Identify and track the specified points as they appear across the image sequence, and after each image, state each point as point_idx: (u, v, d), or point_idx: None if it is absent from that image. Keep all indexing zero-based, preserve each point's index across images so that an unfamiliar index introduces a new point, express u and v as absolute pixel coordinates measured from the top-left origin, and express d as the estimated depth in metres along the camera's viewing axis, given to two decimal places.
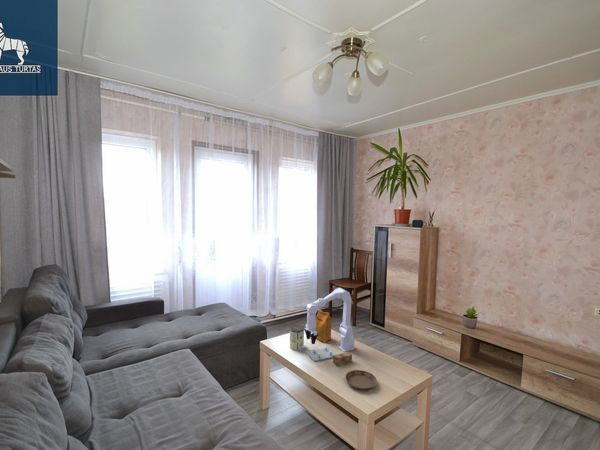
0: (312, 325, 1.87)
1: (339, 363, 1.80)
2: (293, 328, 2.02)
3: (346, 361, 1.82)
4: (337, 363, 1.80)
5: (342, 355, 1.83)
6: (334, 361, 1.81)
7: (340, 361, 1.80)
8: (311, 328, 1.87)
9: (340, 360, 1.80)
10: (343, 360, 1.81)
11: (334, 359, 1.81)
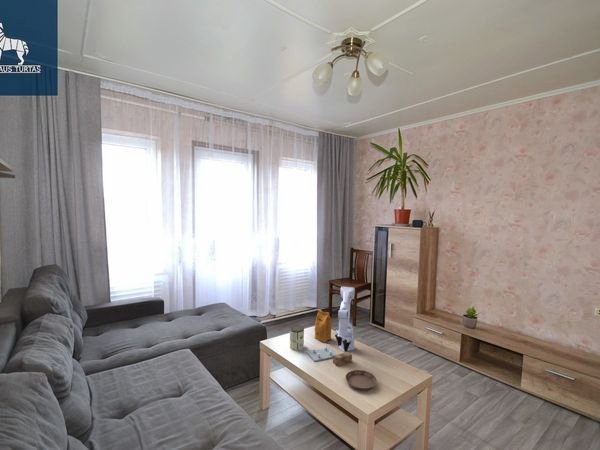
0: (344, 331, 1.80)
1: (339, 363, 1.80)
2: (293, 328, 2.02)
3: (346, 361, 1.82)
4: (337, 363, 1.80)
5: (342, 355, 1.83)
6: (334, 361, 1.81)
7: (340, 361, 1.80)
8: (343, 334, 1.80)
9: (340, 360, 1.80)
10: (343, 360, 1.81)
11: (334, 359, 1.81)
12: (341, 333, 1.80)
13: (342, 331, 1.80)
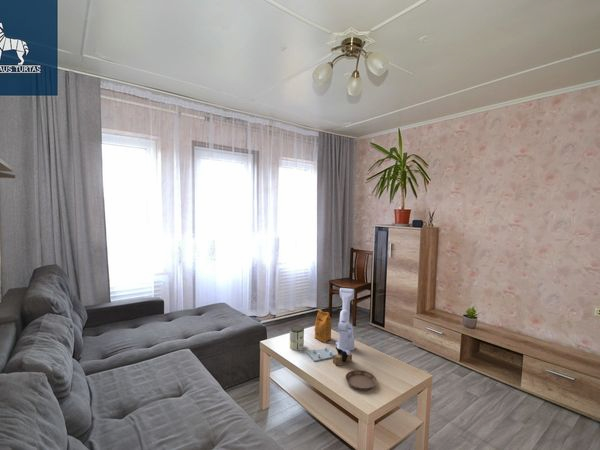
0: (344, 343, 1.80)
1: (339, 363, 1.80)
2: (293, 328, 2.02)
3: (346, 361, 1.82)
4: (337, 363, 1.80)
5: None
6: (334, 361, 1.81)
7: (340, 361, 1.80)
8: (343, 347, 1.80)
9: (340, 360, 1.80)
10: None
11: (334, 359, 1.81)
12: (341, 345, 1.80)
13: (342, 343, 1.80)
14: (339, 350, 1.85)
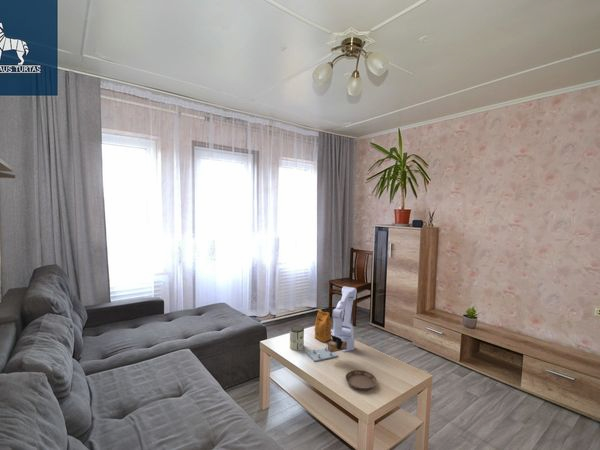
0: (339, 331, 1.82)
1: (334, 350, 1.82)
2: (293, 328, 2.02)
3: (341, 348, 1.84)
4: (332, 350, 1.81)
5: None
6: (329, 348, 1.83)
7: (335, 348, 1.82)
8: (338, 334, 1.82)
9: (335, 347, 1.82)
10: None
11: (329, 346, 1.83)
12: (336, 332, 1.82)
13: (337, 330, 1.82)
14: (334, 337, 1.87)
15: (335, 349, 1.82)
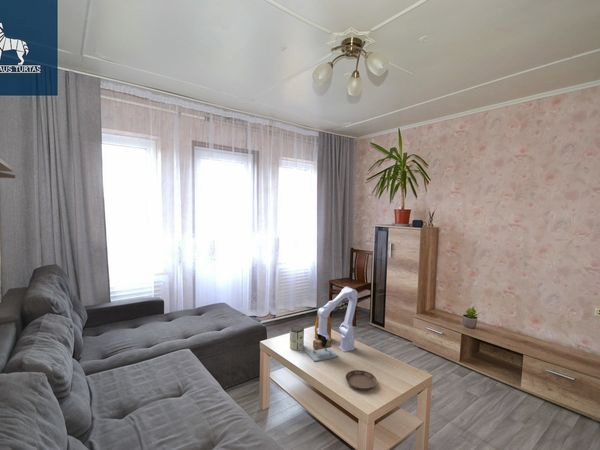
0: (324, 329, 1.89)
1: (319, 347, 1.89)
2: (293, 328, 2.02)
3: (326, 346, 1.91)
4: (317, 347, 1.88)
5: None
6: (314, 346, 1.89)
7: (319, 345, 1.89)
8: (323, 332, 1.89)
9: (320, 344, 1.89)
10: None
11: (314, 344, 1.89)
12: (321, 331, 1.89)
13: (322, 329, 1.89)
14: (319, 336, 1.93)
15: (320, 347, 1.89)
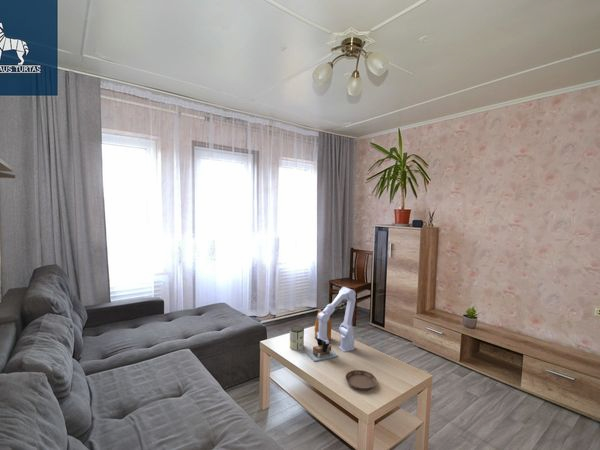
0: (324, 333, 1.89)
1: None
2: (293, 328, 2.02)
3: (325, 352, 1.91)
4: (317, 354, 1.88)
5: (322, 346, 1.91)
6: (314, 352, 1.90)
7: (319, 352, 1.89)
8: (323, 336, 1.89)
9: (320, 351, 1.89)
10: (322, 351, 1.90)
11: (314, 350, 1.90)
12: (320, 335, 1.89)
13: (321, 333, 1.89)
14: (318, 339, 1.94)
15: (320, 353, 1.89)
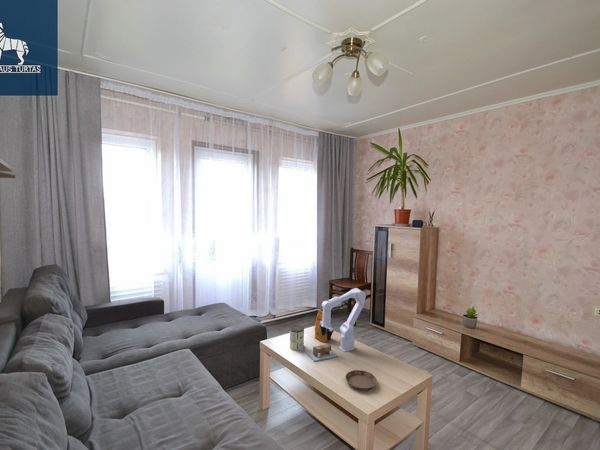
0: (328, 321, 1.94)
1: None
2: (293, 328, 2.02)
3: (325, 352, 1.91)
4: (317, 354, 1.88)
5: (322, 346, 1.91)
6: (314, 352, 1.90)
7: (319, 352, 1.89)
8: (327, 324, 1.94)
9: (320, 351, 1.89)
10: (322, 351, 1.90)
11: (314, 350, 1.90)
12: (324, 323, 1.94)
13: (325, 321, 1.94)
14: (322, 327, 2.00)
15: (320, 353, 1.89)
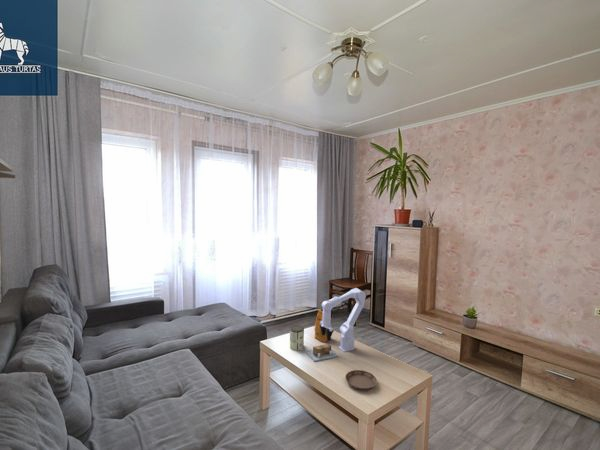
0: (328, 321, 1.94)
1: None
2: (293, 328, 2.02)
3: (325, 352, 1.91)
4: (317, 354, 1.88)
5: (322, 346, 1.91)
6: (314, 352, 1.90)
7: (319, 352, 1.89)
8: (327, 324, 1.94)
9: (320, 351, 1.89)
10: (322, 351, 1.90)
11: (314, 350, 1.90)
12: (324, 323, 1.94)
13: (325, 321, 1.94)
14: (322, 327, 2.00)
15: (320, 353, 1.89)
